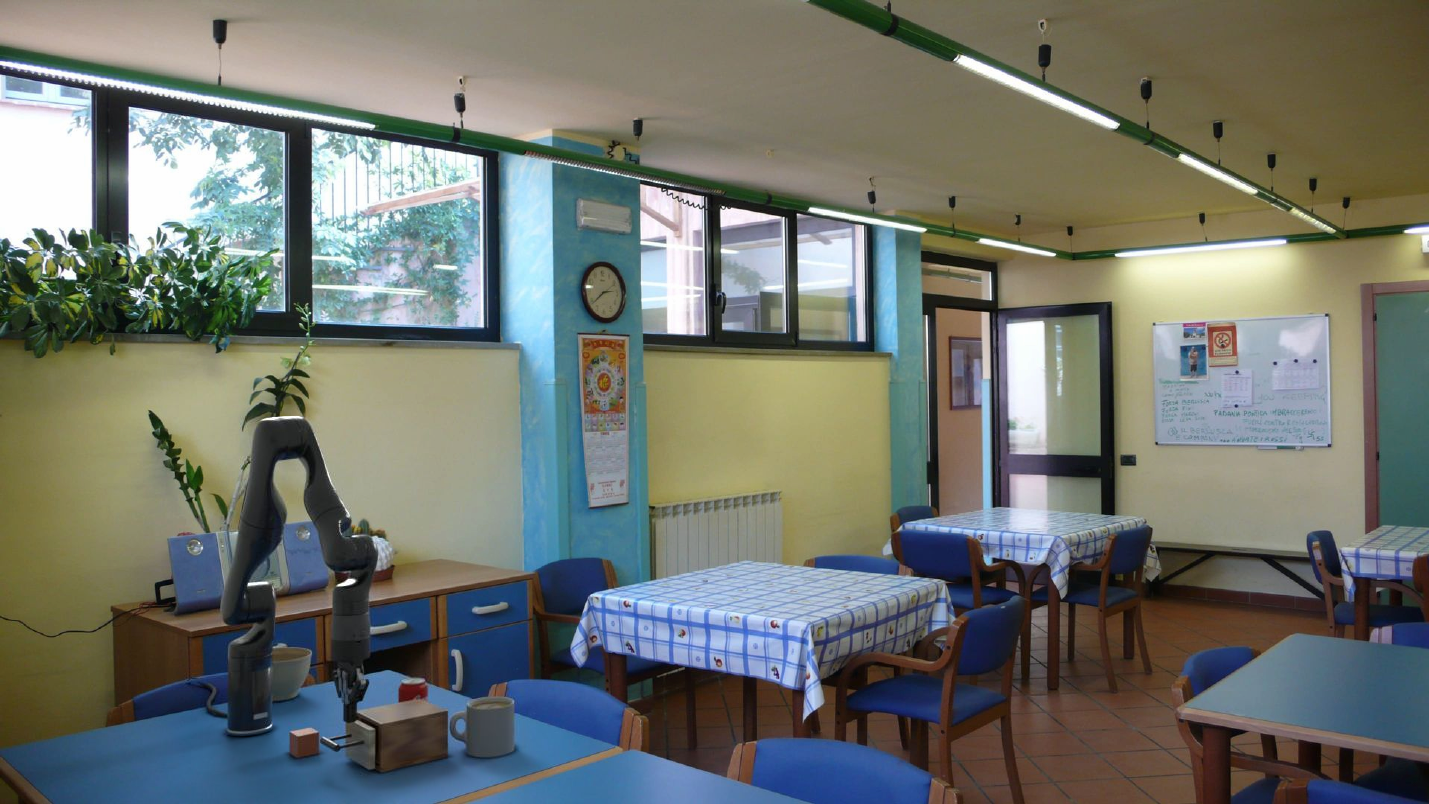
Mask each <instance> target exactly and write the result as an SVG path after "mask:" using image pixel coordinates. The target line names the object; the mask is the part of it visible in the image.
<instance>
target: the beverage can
mask: <svg viewBox="0 0 1429 804" xmlns="http://www.w3.org/2000/svg"><path fill="white" fill-rule="evenodd" d="M397 692H398V693H397V695H398V698H397V699H398V702H397V703H400V702H405V701H410V700H416V699H422V700H424V701H427V702H429V699H428V698H429V686H428V684H427V683H426V680H425V678H422V677H409V678H404V679H402V680H401V684H400V685H399V686H398V691H397Z"/></svg>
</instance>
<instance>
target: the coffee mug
mask: <svg viewBox="0 0 1429 804" xmlns="http://www.w3.org/2000/svg"><path fill="white" fill-rule="evenodd" d="M459 720H463V721H464V723H465V728H464V731H463V732H458V730H457V728H456V725H457V722H458V721H459ZM448 729H449V733H450V735H451V737H452V738H453V739H455V740H457V741H459V742H461V743H463V744H464V745H465V748H466V754H467V755H469V756H471V757H475V758H497V757H502V756H506V755H508V754H511V753H512V752H514V751H515V700H514V699H513V698H510V697H507V696H483V697H478V698H474V699H471V700H469V701H468V702H466V710H462V711H457V712H454V713H453V715H452V716H451V717H450V720H449V726H448Z"/></svg>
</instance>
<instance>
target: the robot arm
mask: <svg viewBox="0 0 1429 804" xmlns="http://www.w3.org/2000/svg"><path fill="white" fill-rule="evenodd" d="M251 442H252V443H251V453H250V463H249V472H248V480H247V485H246V492H245V497H244V502H243V506H242V510H241V514H240V519H239V523H238V528H237V535H236V541H235V546H234V551H233V555H232V556H233V557H232V561H231V564H230V568H229V571H228V574H227V578H226V580H225V583H224V588H223V591H222V595H221V598H220V605H219V606H220V607H219V608H220V609H219V610H220V617H221V618H220V619H221V620H222V622H223V623H224V624H225V625H226V626H231V627H236V626H237V627H238V626H246V625H252V628H251V629H250V630H248V631H247V632H246V633H245V634H243V635H241V636H240V637H238V638H236V639H234V640H232V641H231V642H229V644H228V648H227V713H226V712H223V711H220V710H217V709H216V708H213V707H212V702H213V700H215V697H216V694H217V688H216V687H215V686H214V685H212V684H211V683H208V682H207V683H208V684H204V683H200V682H197V684H200V685H202V686H204V687H206V688H209V689H210V690H211V691H212V692H211V694H210V696H209V698H208V699H207V701H206V709H207V711H209V712H210V713H212V714H213V715H215V716H218V717H221V718H227V719H226V720H227V721H226V722H227V723H226V726H227V727H226V734H227V735H229V736H233V737H250V736H257V735H262V734H265V733H268V732H270V731H271V730H273V701H272V683H273V648H274V642H275V629H276V612H277V594H276V589H275V587H274V585H273V584H272V583H271V582H270V581H265V580H264V581H253V582H250V581H251V579H252V577H253V575H254V574H255V572H256V571H257V570H258V568H259V567H260V566H261V565H262V564H263V563H264V562H265V561H266V560H267V559H268V558H269V557H270V556H271V555H272V554H273V553H274V552H275V551H276V549H277V548H278V547H279V545H280V544H281V543H282V540H283V537H284V533H285V528H286V524H287V519H288V509H287V505H286V503H285V501H284V498H283V497H282V496H281V494H280V492H279V490H278V489H277V487H276V484H275V481H274V477H275V468H276V465H277V463H278V462H281V461H290V460H297V459H298V461H300V463H301V464H302V466H303V467H304V470H305V483H304V488H303V496H302V497H303V505H304V508H305V511H306V513H307V515H308V517H309V518H310V520H311V522H312V524H313V527H315V529H316V531H317V536H318V541H319V546H320V551H321V556H322V560H323V562H324V564H325V565H326V566H327V568H328V569H330V570H331V571H333V572H335V573H346V572H349V574H348V577H347V579H346V580H344V581H343V582H340V583H338V584H336V585H335V586H334V587H333V589H332V601H331V602H332V607H331V608H332V609H331V610H332V611H331V612H332V614H331V623H330V660H332V661H333V662H335V663H337V670H332V671H331V675H332V680H333V683H334V687H335V690H336V694H337V697H338V699H341V703H342V704H343V706H342V708H343V709H342V713H343V715H342V721H343V722H345V724H346V723H352V722H356V720H357V711H358V703H360V702H363V700H364V698H365V697H366V696H365V695H366V693H367V690H368V688H369V686H370V679H369V678H364V676H365V669H364V661H365V660H367V659H369V658H370V656H371V617H370V591H371V587H372V583H373V580H374V577H375V572H376V569H377V565H378V561H379V547H378V545H377V542H376V541H375V539H374V538H373V537H372V536H371V535H370V534H369V535H368V534H355V535H354V534H353V535H347V536H346V535H345V536H344V535H343V534H345V532H347V531H348V530H349V529H350V527H351V525H352V523H353V519H352V516H351V513H350V512H349V510H348V508H347V506H346V505H345V503H344V502H343V499H342V498H341V496H340V495H339V493H338V490H337V489H336V487H335V484H334V483H333V481H332V478H331V475H330V473H329V469H328V466H327V463H326V461H325V458H324V455H323V452H322V450H321V447H320V444H319V441H318V438H317V436H316V432H315V431H314V429H313V427H312V425H311V423H309V421H308V420H307V419H306V418H305V417H303V416H300V415H291V416H277V417H267V418H264V419H261V420H260V421H259V422H258V423H257V424H256V426H255V429H254V432H253V436H252V441H251ZM190 679H200V678H198V677H194V676H192V677H190V678H188V679H187V680H186V682H187V681H189V680H190Z"/></svg>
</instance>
